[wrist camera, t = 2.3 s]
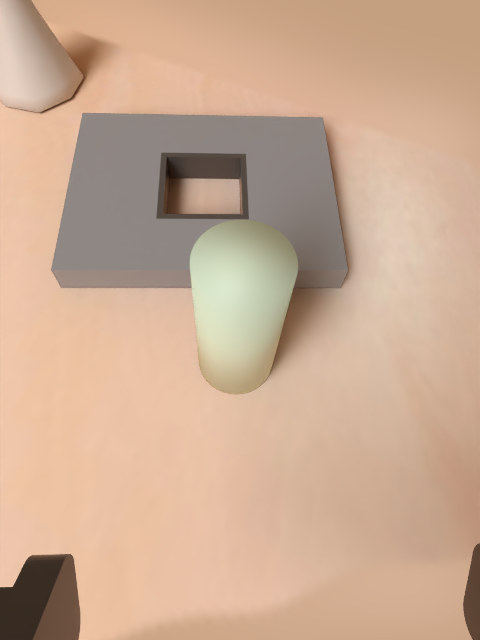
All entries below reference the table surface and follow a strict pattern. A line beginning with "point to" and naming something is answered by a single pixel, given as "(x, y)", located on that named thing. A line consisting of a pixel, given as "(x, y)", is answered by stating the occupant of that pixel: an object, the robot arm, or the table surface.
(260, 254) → the peg
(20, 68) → the flask
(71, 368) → the table surface
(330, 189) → the socket plate
